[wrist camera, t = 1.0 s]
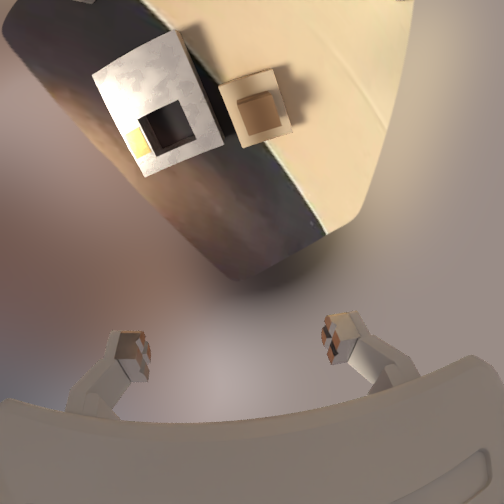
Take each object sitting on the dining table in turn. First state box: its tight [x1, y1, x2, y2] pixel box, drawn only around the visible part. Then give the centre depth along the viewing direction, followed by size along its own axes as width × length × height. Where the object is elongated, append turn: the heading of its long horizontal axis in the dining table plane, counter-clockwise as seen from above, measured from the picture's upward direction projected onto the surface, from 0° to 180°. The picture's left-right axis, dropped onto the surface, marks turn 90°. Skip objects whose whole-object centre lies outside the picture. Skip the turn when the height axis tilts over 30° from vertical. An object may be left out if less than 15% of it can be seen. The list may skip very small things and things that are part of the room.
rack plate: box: [92, 30, 225, 177], centre depth 31 cm, size 12×17×4 cm
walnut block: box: [237, 91, 282, 136], centre depth 30 cm, size 4×4×4 cm
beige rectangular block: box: [218, 69, 293, 148], centre depth 32 cm, size 7×9×3 cm
